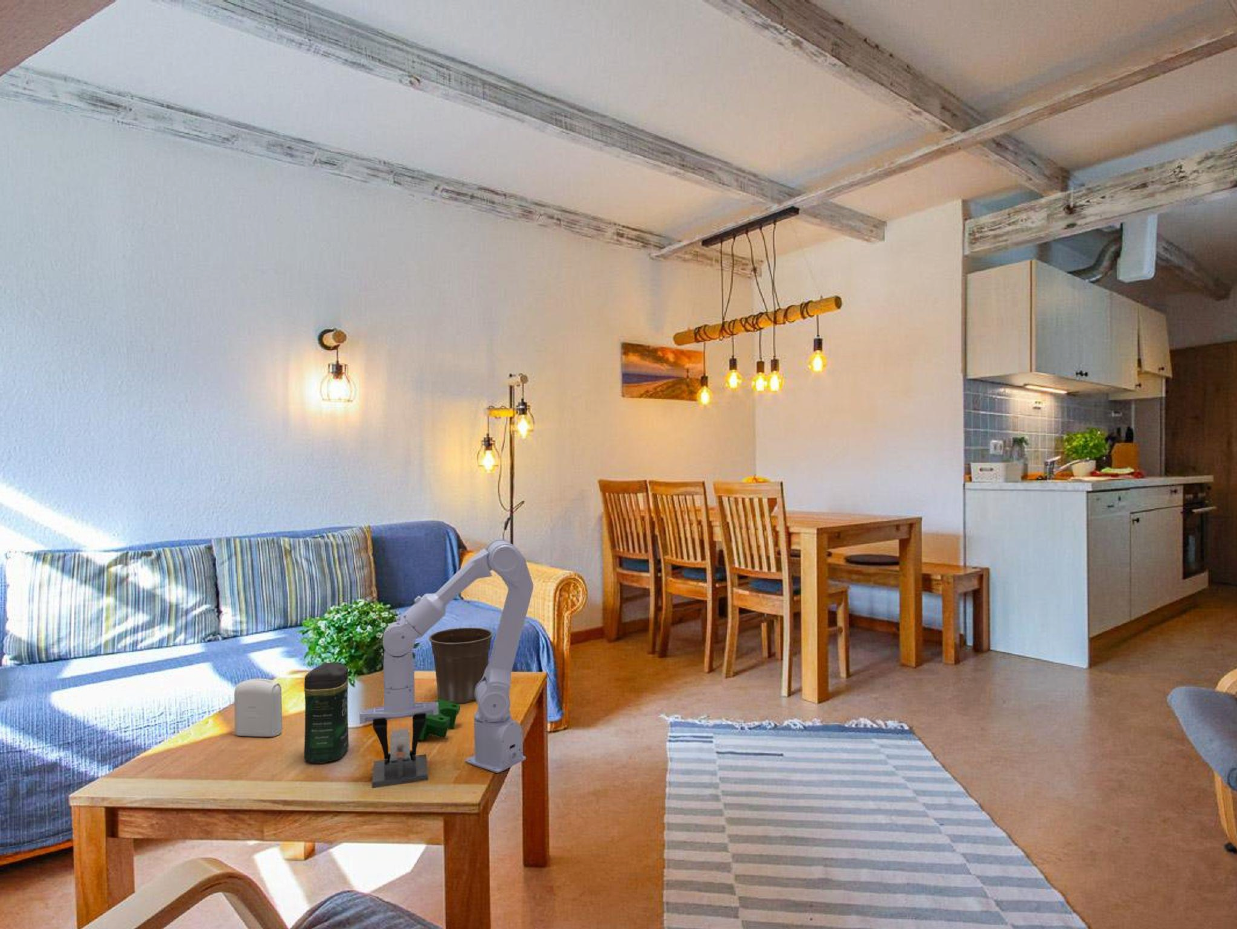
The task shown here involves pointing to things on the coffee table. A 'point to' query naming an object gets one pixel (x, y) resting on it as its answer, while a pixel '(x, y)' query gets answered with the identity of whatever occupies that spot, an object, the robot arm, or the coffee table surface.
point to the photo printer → (258, 708)
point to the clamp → (440, 720)
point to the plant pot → (460, 661)
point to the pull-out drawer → (400, 745)
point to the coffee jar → (326, 712)
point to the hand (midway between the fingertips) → (400, 755)
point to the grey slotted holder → (399, 770)
